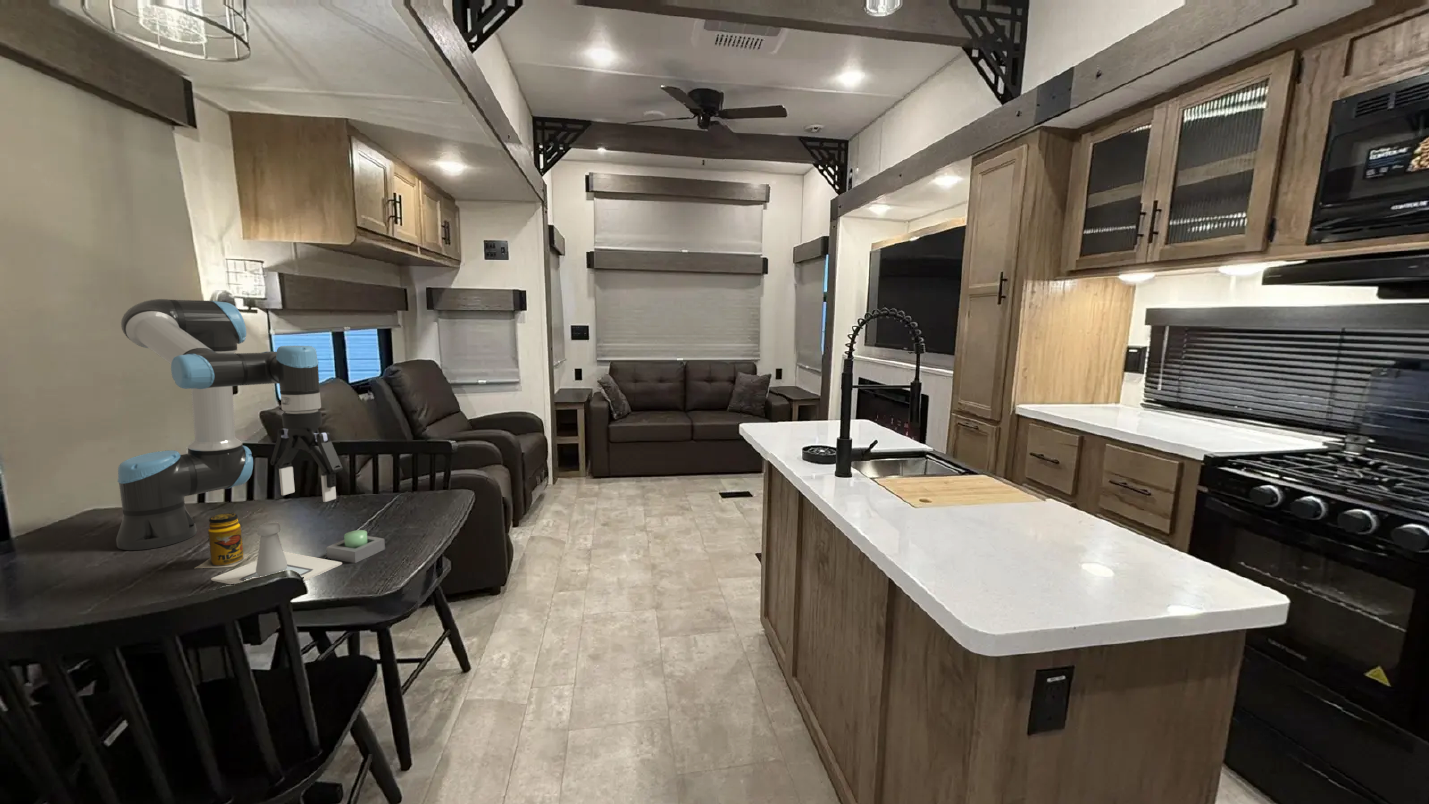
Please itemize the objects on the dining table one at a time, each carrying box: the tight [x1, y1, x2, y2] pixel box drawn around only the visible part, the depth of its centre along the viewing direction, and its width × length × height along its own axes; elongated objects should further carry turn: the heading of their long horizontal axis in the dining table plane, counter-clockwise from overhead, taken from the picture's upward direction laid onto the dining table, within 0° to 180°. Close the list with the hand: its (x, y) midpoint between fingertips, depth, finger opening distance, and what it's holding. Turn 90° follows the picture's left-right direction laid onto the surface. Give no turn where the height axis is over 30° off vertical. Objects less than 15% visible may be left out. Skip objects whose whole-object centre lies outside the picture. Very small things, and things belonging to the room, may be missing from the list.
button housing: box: [326, 535, 386, 564], centre depth 143 cm, size 9×9×3 cm
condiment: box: [194, 512, 252, 569], centre depth 135 cm, size 7×8×12 cm
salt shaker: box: [256, 521, 287, 577], centre depth 127 cm, size 6×6×13 cm
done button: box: [343, 529, 368, 549], centre depth 142 cm, size 5×5×4 cm
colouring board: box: [210, 551, 343, 585], centre depth 131 cm, size 20×16×1 cm
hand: (308, 496), depth 132 cm, fingers open, 13 cm apart
